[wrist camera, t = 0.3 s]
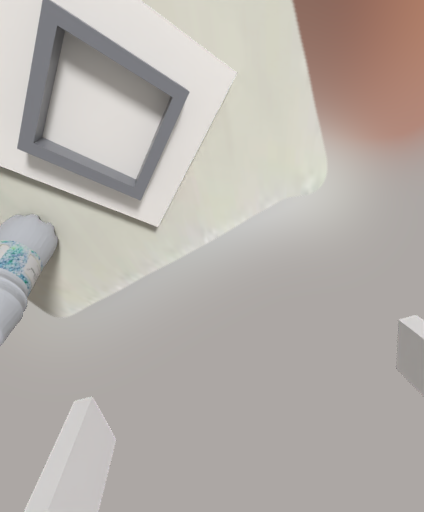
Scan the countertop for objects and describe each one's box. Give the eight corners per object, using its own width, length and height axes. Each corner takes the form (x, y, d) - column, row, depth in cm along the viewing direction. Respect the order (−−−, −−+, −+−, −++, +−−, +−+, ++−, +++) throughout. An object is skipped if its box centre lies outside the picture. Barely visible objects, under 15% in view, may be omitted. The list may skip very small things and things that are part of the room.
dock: (14, -93, 19) (-13, -122, 16) (234, 72, 28) (243, 74, 25) (-14, 153, 29) (-35, 165, 25) (157, 221, 37) (158, 237, 34)
